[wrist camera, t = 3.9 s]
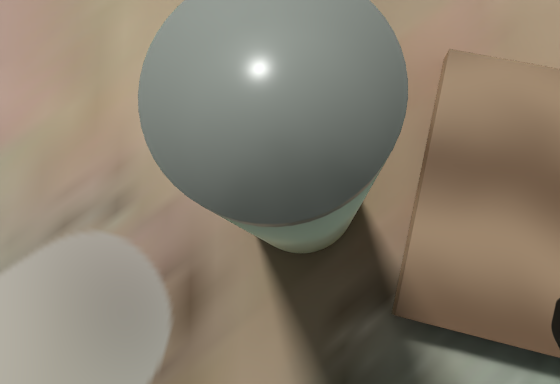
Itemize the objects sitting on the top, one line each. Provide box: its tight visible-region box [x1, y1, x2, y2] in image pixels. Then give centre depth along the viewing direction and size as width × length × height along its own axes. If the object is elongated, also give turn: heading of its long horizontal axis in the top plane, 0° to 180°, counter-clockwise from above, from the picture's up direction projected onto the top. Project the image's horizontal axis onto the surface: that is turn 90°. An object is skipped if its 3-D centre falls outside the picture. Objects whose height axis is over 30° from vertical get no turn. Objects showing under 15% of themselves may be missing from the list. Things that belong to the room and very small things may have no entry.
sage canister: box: [138, 0, 408, 254], centre depth 15 cm, size 5×5×13 cm
